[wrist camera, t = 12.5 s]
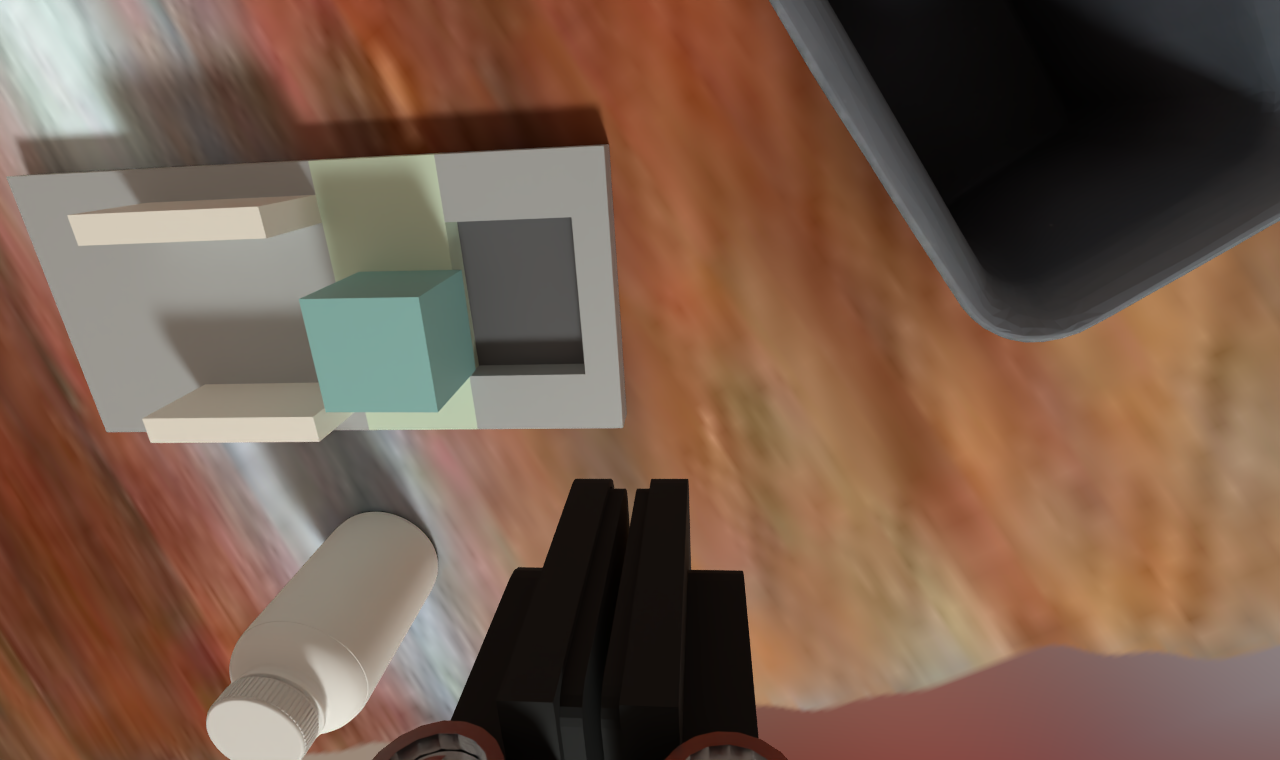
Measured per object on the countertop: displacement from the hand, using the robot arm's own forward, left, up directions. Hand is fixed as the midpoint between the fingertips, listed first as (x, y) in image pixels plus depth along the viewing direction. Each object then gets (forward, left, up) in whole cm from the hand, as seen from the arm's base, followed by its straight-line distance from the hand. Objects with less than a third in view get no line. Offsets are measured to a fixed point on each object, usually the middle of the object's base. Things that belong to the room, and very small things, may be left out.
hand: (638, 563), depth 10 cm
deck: (+3, -21, -29) cm, 36 cm away
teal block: (+4, -16, -27) cm, 31 cm away
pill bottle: (+22, -22, -29) cm, 43 cm away
